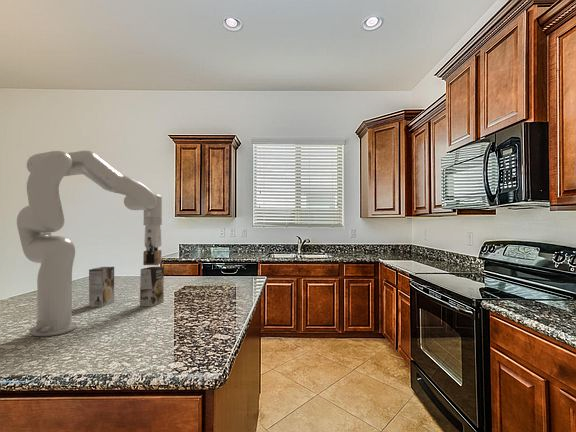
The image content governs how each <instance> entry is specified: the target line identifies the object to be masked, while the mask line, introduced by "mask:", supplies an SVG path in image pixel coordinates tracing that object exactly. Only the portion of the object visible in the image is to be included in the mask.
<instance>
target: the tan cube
mask: <svg viewBox="0 0 576 432" xmlns="http://www.w3.org/2000/svg"><path fill="white" fill-rule="evenodd" d="M153 254H154V263H153V264H147V263H146V250H144V251H143V259H142V260H143V266H158V265H161V264H162V249H158V250H154V253H153Z"/></svg>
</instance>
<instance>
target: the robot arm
mask: <svg viewBox="0 0 576 432" xmlns="http://www.w3.org/2000/svg"><path fill="white" fill-rule="evenodd" d="M26 169H27V171H28V172H29V176H28V178H27V180H26V181H27V182H26V196H27V201H28V205H27V206H24V207H22V209H21V210H19V212H18V214H17V218H16V227H17V231H18V235H19V241H20V244H21V248H22V251H23V254H24V256H25V258H26V259H28V261H31V262H32V263H35V264H40V266H39V269H38V273H37V278H36V281H37V284H36V285H37V288H36V289H37V292H36V293H37V294H36V295H37V296H36V325H35V326H33V327H31V328H30V329H29V331H28V332H29V333H30V334H31V336H35V337H50V336H58V335H62V334H65V333H69V332H72V331H74V330H75V329H76V328H77V327H78V325H77V322H75V321H72V310H73V309H72V308H73V307H72V305H73V302H72V301H73V300H72V299H73V286H72V285H73V278H72V277H73V266H74V261H75V257H76V246H75V245H74V243H73V241H71V239H69V238H67V237H65V236H60V235H52V233H56V232H58V231H60V230H62V228H63V227H64V226H65V225H64V224H65V215H64V211H63V210H64V209H63V206H62V201H61V198H60V196H61V195H60V184H61V181H62V179H63V178H64V177H69V176H70V177H71V176H78V175H84V176H85V177H87V179H90V180H91V181H92V182H94V183H96V185H97V186H99V187H101V188H102V189H103V190H105V191H108V192H110V193H114V194H120V195H123V196H125V197H124V199H123V205H124V206H125V208H127V209H129V210H131V211H143V226H145V227H144V247H145V251H146V263H147V264H153V263H154V254H153V253H154V250H159V248H160V247H162V229H161V226H162V224H163V220H162V219H163V218H162V216H163V213H162V212H163V205H162V204H163V202H162V201H163V199H162V198H163V197H162V195H160V194H158V193H157V194H156V193H154V192H153V191H152V190H151V189H150V188H148V187H147V186H146V185H145V184H143V183H141V182H140V181H138V180H135V179H133V178H131V177H129V176H127V175H125V174H122V173H120V172H119V171H117V170H116V169H115V168H113V167H112V166H111V165H110V164H109V163H107V161H105V160H104V159H102V158H101V157H100V156H99V155H98V154H96V153H95V152H93V151H91V150H78V151H73V152H65V151H62V150H51V151H47V152H39V153H36V154H33V155H32V156H30V157H28V159H27V161H26Z"/></svg>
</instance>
